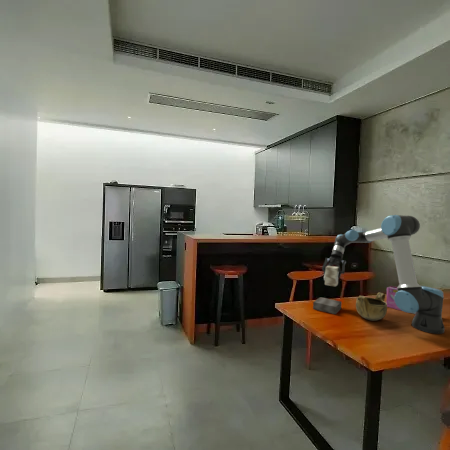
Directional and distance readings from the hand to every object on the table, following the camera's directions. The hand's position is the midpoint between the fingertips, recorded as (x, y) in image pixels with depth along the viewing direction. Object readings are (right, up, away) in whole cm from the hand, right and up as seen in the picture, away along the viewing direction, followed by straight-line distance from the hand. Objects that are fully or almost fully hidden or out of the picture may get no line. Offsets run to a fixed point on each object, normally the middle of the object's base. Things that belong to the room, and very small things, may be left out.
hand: (330, 280), depth 198 cm
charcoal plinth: (-4, -18, -5) cm, 19 cm away
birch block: (+2, -4, +3) cm, 5 cm away
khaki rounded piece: (+17, -20, -20) cm, 33 cm away
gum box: (+50, -20, -1) cm, 54 cm away
